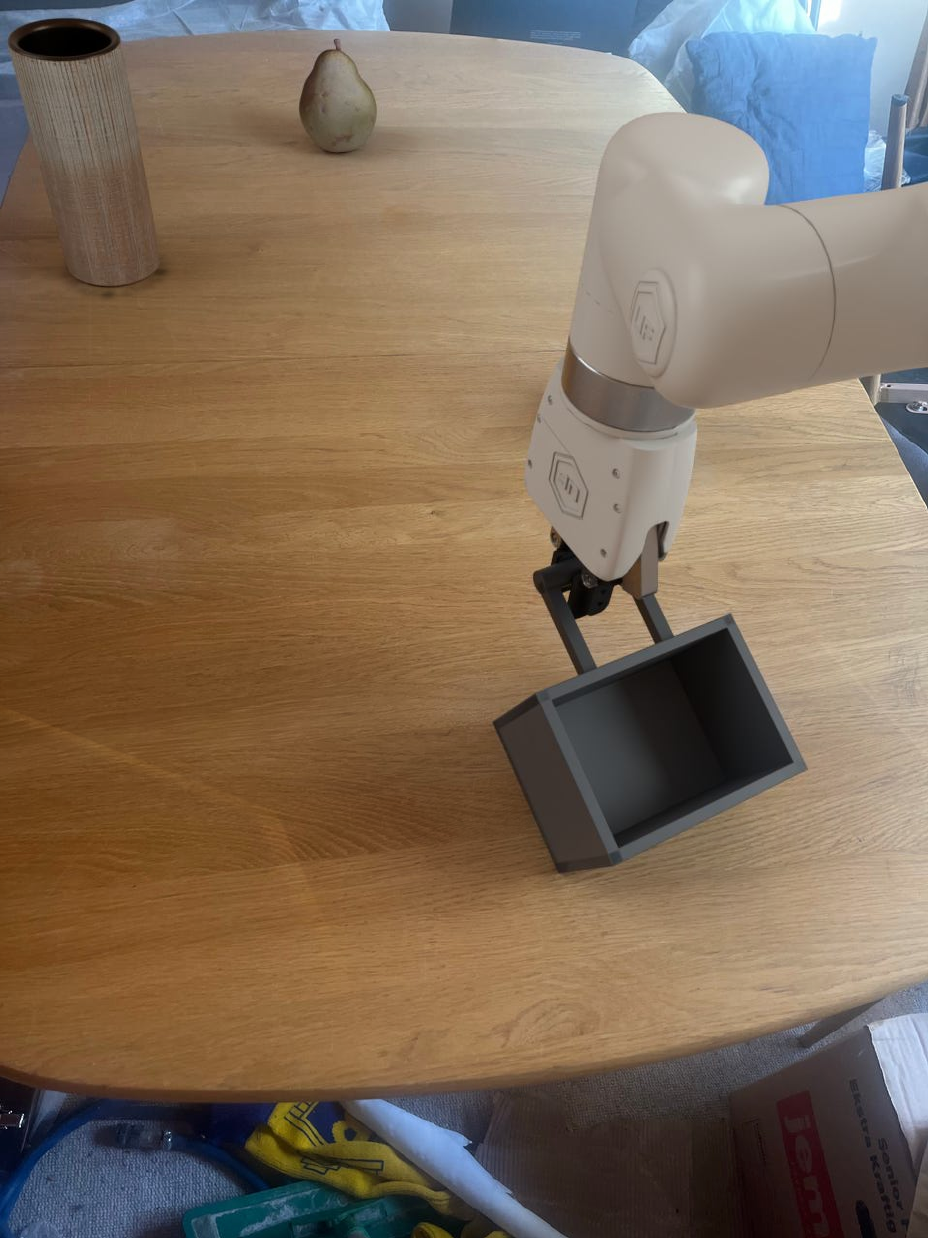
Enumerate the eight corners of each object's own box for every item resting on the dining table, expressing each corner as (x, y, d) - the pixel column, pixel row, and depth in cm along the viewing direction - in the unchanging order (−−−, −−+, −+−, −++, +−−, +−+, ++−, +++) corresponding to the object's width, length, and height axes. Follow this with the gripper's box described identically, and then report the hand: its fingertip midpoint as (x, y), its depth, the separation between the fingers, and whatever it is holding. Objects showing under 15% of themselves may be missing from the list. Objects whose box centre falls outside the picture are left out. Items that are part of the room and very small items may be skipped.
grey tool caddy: (734, 787, 69) (808, 769, 61) (558, 874, 64) (613, 866, 55) (625, 560, 72) (682, 513, 64) (449, 625, 67) (486, 583, 59)
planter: (101, 231, 110) (50, 8, 93) (178, 253, 109) (141, 30, 91) (47, 273, 104) (-18, 43, 87) (128, 297, 102) (78, 66, 85)
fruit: (360, 125, 133) (359, 28, 123) (391, 154, 128) (392, 56, 118) (291, 136, 129) (285, 38, 120) (320, 167, 124) (316, 67, 115)
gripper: (499, 309, 54) (472, 539, 68) (662, 485, 45) (593, 706, 59) (610, 282, 56) (562, 509, 71) (783, 445, 48) (689, 665, 62)
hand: (576, 598), depth 65 cm, fingers closed on grey tool caddy
